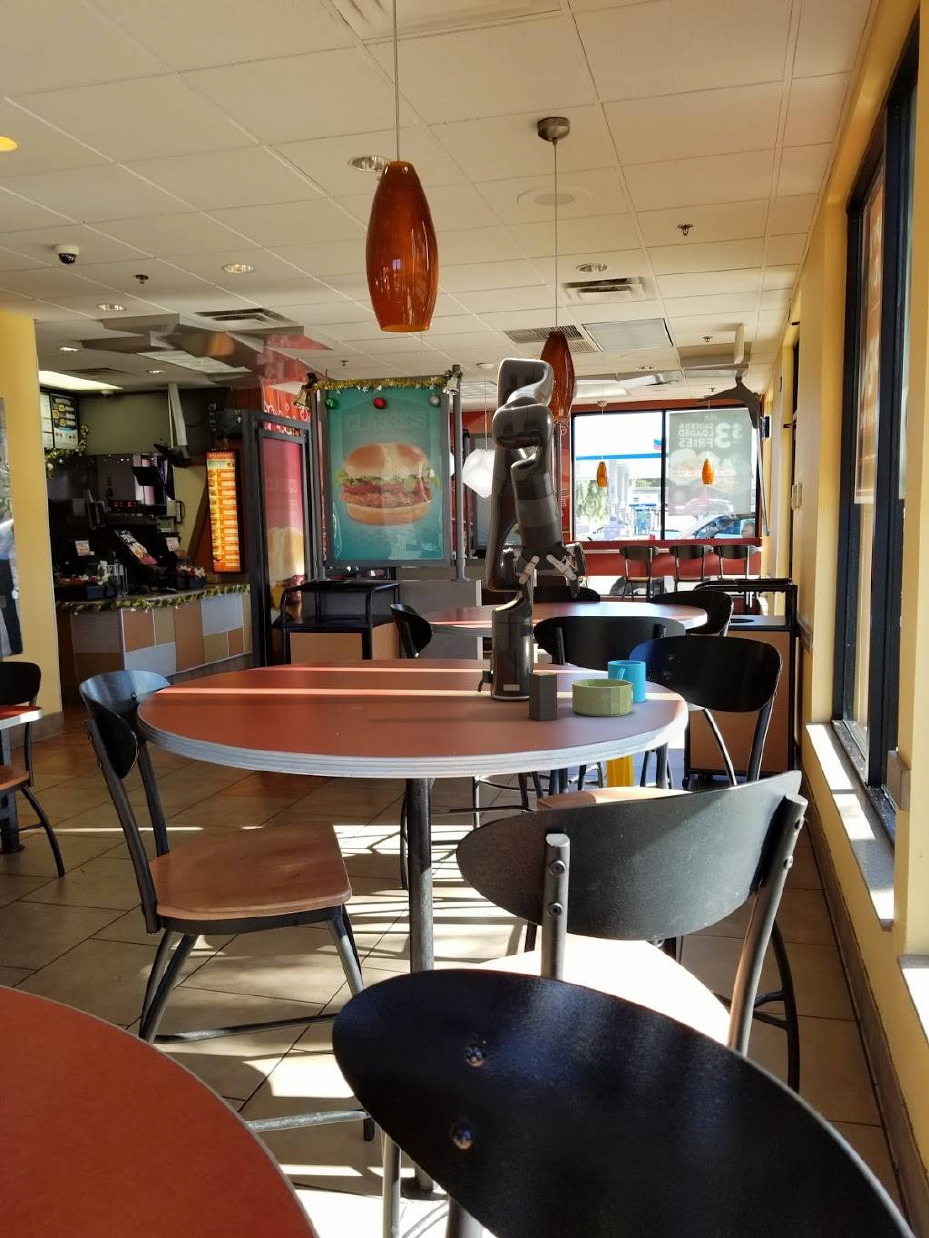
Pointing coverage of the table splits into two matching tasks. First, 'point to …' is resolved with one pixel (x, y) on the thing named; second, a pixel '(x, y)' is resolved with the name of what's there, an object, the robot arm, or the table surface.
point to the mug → (630, 676)
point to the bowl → (602, 697)
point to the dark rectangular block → (543, 696)
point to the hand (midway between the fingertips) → (551, 597)
